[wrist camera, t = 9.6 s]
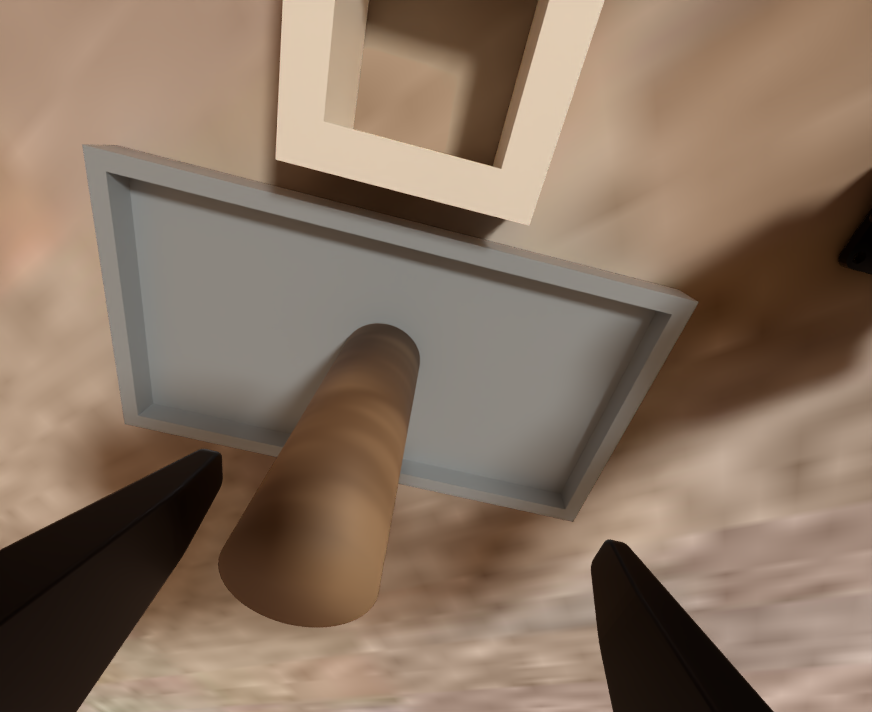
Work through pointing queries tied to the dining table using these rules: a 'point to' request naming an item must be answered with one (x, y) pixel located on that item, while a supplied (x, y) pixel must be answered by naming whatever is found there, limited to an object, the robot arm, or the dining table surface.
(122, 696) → the dining table surface
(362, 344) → the pin
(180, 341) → the tray
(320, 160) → the square frame
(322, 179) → the dining table surface
